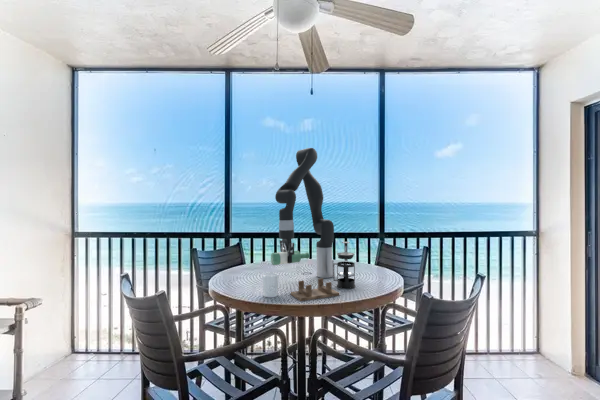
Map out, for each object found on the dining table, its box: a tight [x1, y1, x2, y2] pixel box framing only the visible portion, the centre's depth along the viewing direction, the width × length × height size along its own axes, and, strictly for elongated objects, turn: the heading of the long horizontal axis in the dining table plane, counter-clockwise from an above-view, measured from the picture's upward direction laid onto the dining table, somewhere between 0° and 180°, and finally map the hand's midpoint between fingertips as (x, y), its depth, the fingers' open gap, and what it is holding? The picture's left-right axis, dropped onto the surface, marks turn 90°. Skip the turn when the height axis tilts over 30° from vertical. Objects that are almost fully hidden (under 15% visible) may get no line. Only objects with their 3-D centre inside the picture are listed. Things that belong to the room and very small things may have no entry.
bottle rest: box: [290, 278, 340, 302], centre depth 155 cm, size 20×11×6 cm, turn 114°
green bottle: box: [270, 250, 310, 266], centre depth 168 cm, size 20×6×6 cm, turn 115°
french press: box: [333, 241, 356, 290], centre depth 170 cm, size 12×9×23 cm
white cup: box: [261, 271, 280, 298], centre depth 155 cm, size 8×8×10 cm
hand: (287, 261), depth 167 cm, fingers closed on green bottle, 6 cm apart
